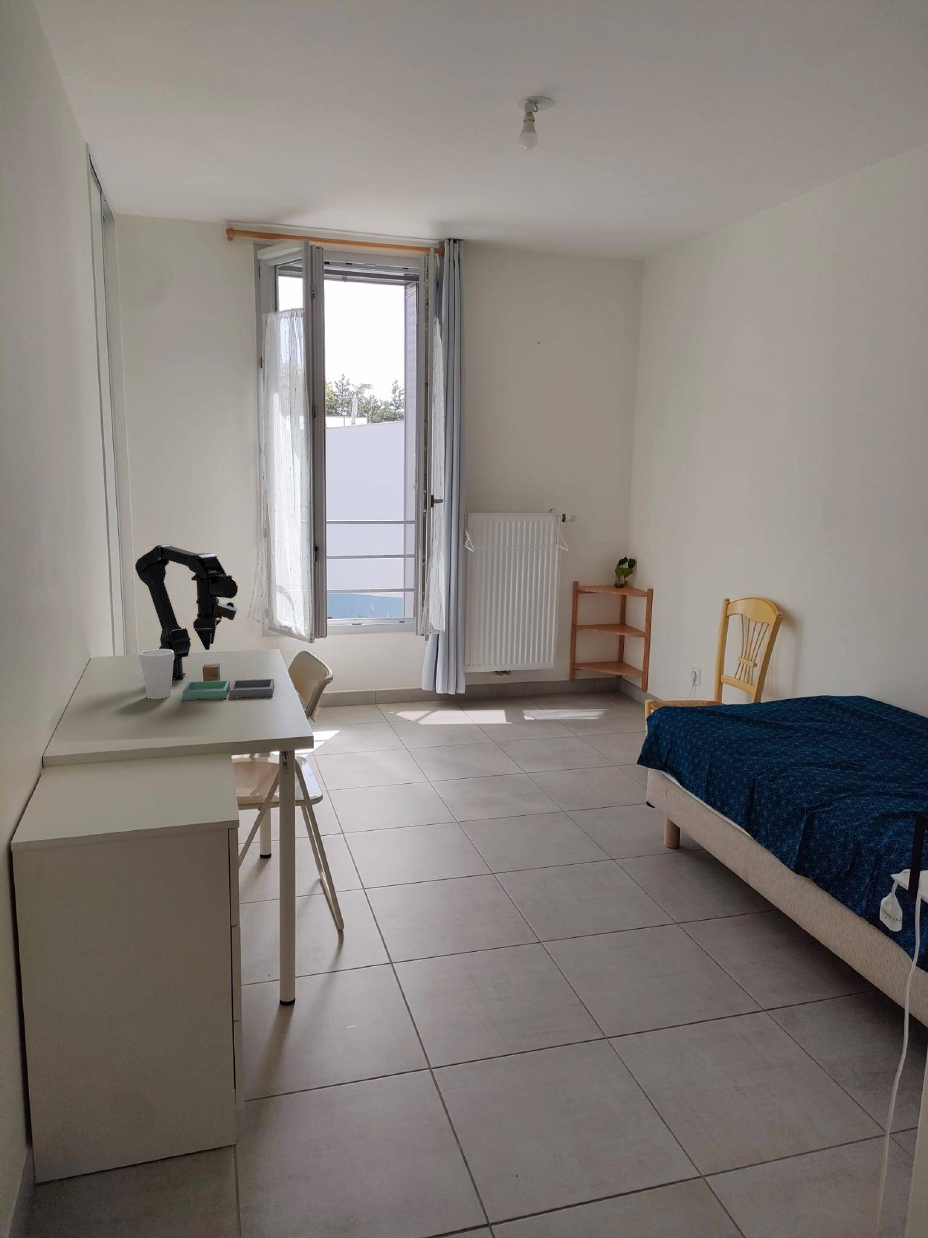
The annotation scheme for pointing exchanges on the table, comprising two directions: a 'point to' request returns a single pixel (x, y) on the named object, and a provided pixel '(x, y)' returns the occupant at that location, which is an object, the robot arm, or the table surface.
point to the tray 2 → (252, 688)
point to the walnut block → (211, 672)
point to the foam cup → (157, 672)
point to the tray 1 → (206, 690)
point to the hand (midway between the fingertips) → (209, 646)
